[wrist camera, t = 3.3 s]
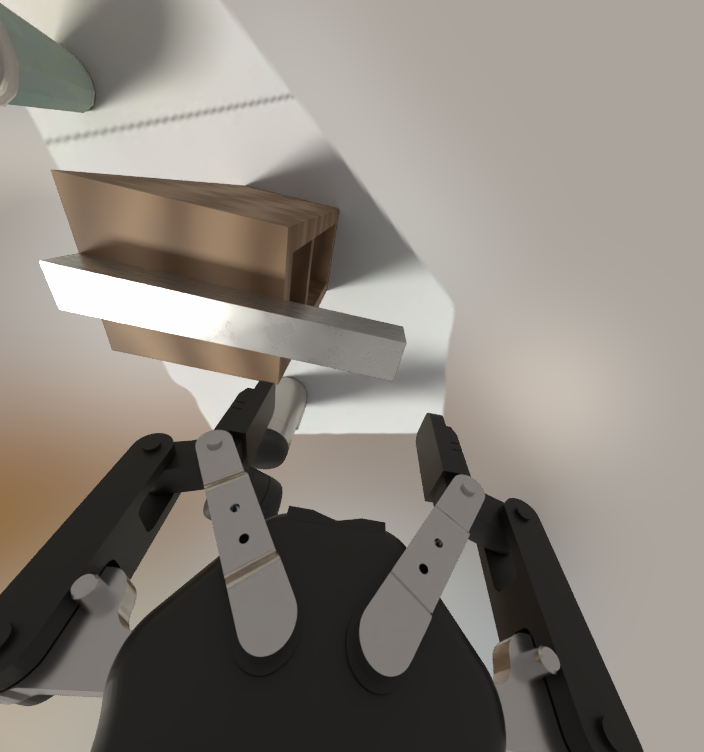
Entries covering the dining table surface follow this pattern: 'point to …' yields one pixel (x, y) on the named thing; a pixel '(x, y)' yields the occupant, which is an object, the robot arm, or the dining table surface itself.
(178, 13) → the dining table surface
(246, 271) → the walnut shelf
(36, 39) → the disposable coffee cup
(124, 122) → the dining table surface
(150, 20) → the dining table surface
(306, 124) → the dining table surface
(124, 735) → the robot arm
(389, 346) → the metal bar
